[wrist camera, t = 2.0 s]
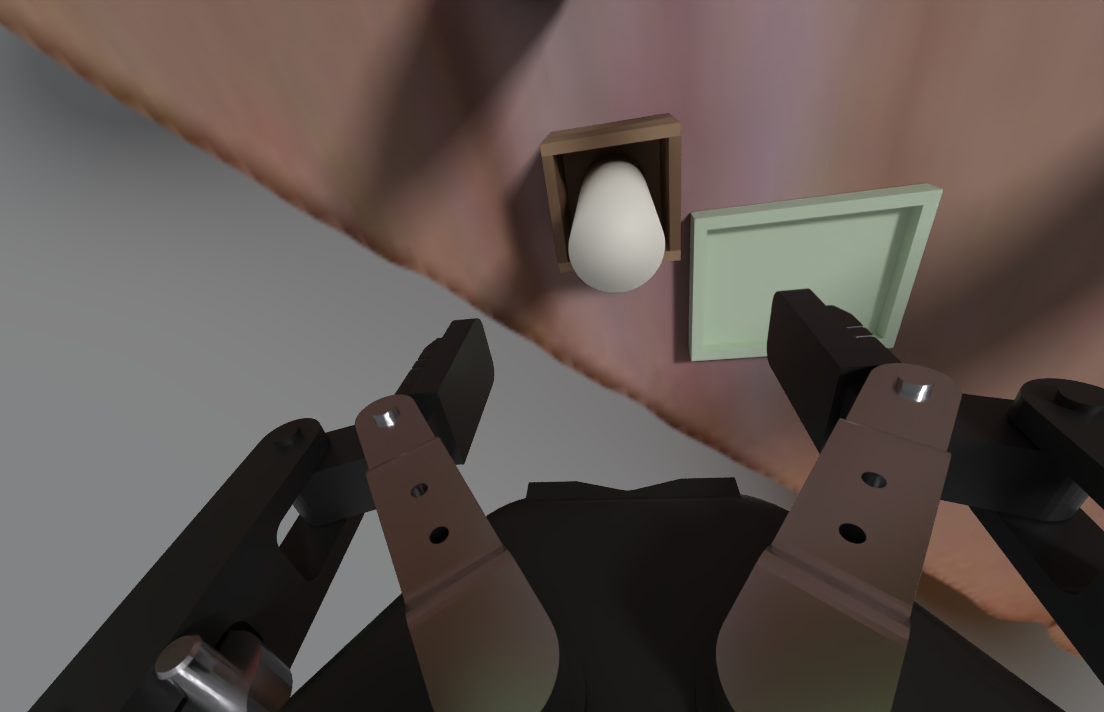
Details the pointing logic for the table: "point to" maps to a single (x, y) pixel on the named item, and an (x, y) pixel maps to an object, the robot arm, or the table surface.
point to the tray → (805, 263)
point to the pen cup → (639, 138)
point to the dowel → (615, 227)
